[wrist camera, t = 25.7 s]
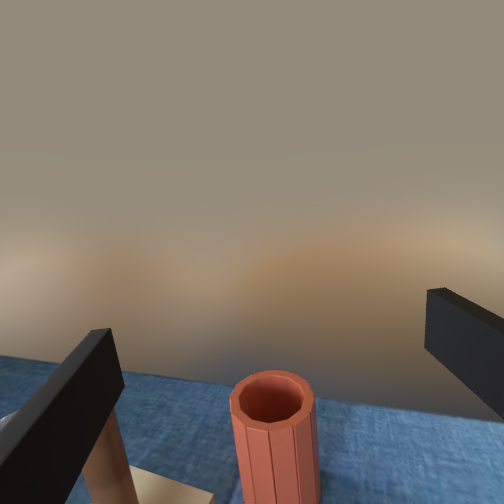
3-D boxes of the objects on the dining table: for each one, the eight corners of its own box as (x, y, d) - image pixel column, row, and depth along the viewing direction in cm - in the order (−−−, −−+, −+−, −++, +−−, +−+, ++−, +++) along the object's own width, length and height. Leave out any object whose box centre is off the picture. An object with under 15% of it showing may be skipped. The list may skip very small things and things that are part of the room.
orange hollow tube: (231, 517, 25) (214, 419, 23) (259, 449, 31) (248, 365, 29) (312, 547, 23) (303, 440, 20) (325, 466, 29) (320, 376, 26)
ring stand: (24, 606, 21) (-68, 397, 17) (128, 475, 30) (85, 315, 26) (134, 683, 17) (53, 438, 13) (216, 506, 26) (183, 325, 22)
